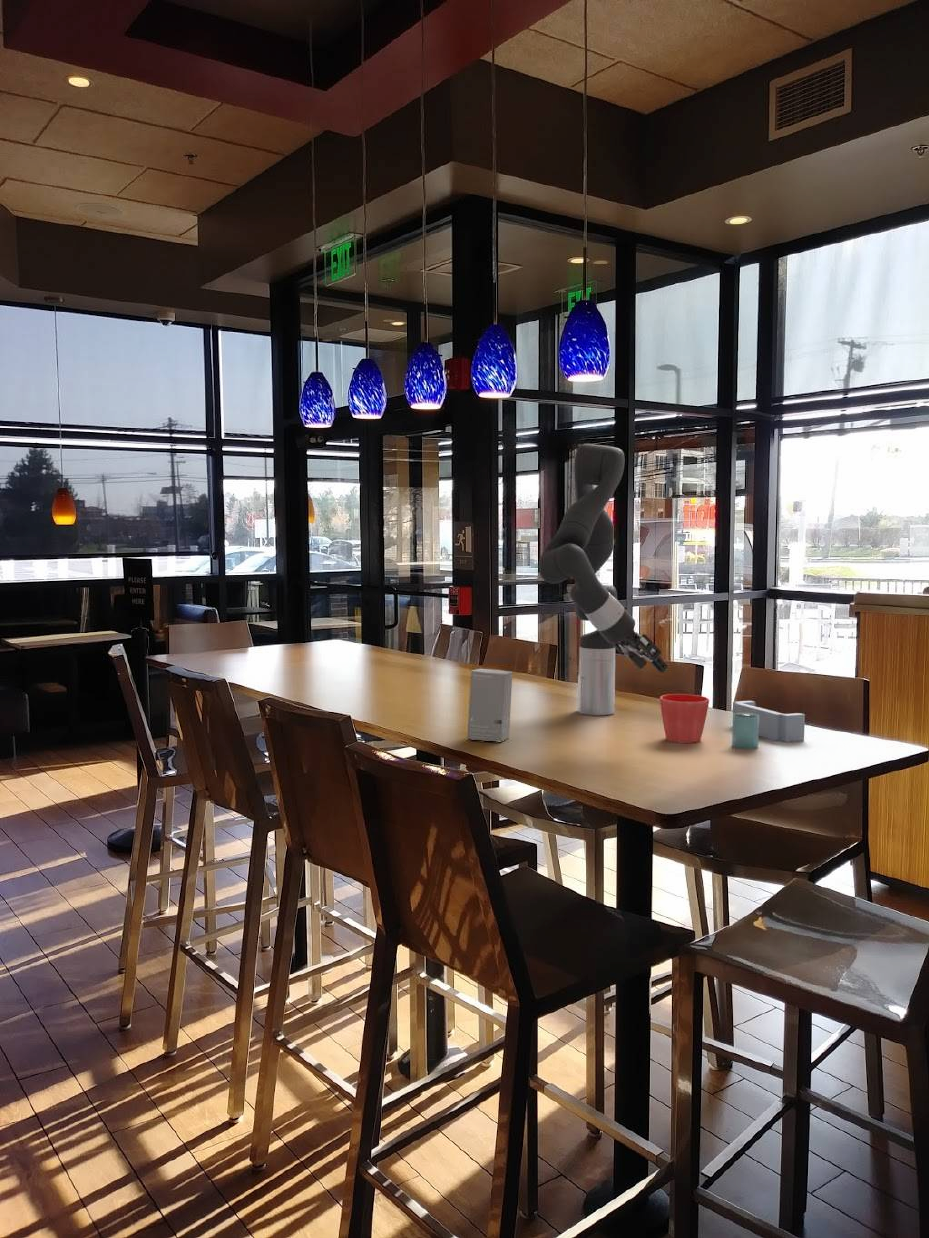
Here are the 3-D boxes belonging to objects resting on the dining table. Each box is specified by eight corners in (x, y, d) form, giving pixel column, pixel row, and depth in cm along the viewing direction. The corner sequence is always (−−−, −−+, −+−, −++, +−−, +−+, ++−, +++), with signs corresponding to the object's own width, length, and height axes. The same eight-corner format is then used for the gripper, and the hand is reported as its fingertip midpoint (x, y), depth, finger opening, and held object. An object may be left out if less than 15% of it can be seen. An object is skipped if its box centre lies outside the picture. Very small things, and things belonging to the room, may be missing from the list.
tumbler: (735, 749, 219) (736, 716, 218) (728, 743, 224) (729, 712, 224) (761, 749, 219) (762, 716, 218) (753, 743, 224) (754, 712, 224)
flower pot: (709, 745, 222) (710, 702, 221) (658, 743, 224) (659, 700, 223) (707, 736, 232) (708, 694, 232) (659, 734, 235) (660, 693, 234)
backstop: (782, 742, 226) (783, 716, 225) (729, 726, 244) (729, 701, 244) (804, 740, 228) (804, 714, 227) (749, 724, 247) (750, 700, 246)
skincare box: (467, 740, 226) (467, 671, 225) (477, 734, 233) (478, 667, 231) (502, 743, 223) (503, 673, 222) (512, 737, 230) (513, 668, 228)
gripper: (637, 606, 213) (682, 658, 218) (603, 603, 226) (647, 652, 231) (615, 632, 211) (660, 684, 216) (582, 627, 224) (626, 676, 229)
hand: (653, 667), depth 224 cm, fingers open, 8 cm apart
